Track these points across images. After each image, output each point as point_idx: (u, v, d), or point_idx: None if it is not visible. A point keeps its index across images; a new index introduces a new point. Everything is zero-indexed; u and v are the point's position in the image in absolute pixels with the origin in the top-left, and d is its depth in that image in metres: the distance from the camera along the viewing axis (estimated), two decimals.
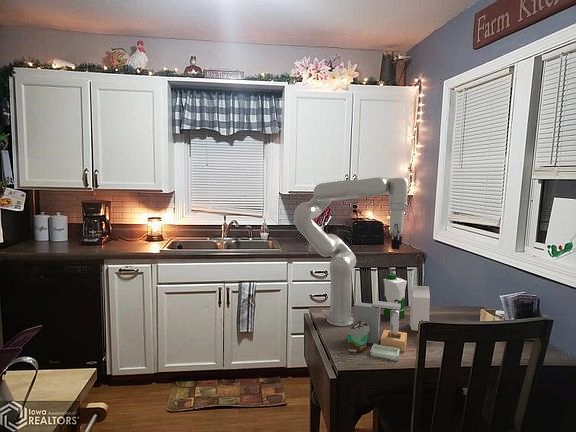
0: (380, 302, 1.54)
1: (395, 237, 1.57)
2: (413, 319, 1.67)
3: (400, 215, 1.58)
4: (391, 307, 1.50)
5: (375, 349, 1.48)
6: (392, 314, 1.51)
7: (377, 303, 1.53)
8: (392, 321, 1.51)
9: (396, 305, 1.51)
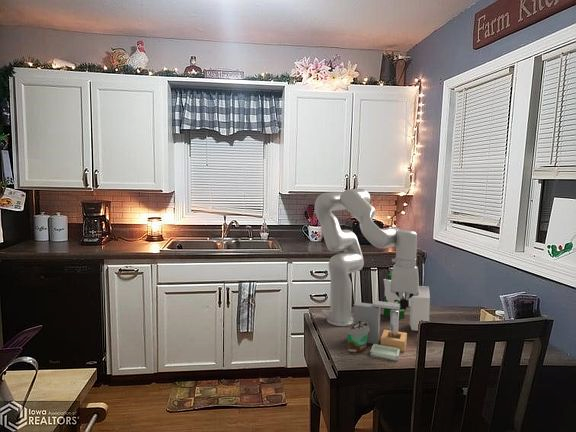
0: (379, 302, 1.54)
1: (411, 296, 1.49)
2: (413, 319, 1.67)
3: None
4: (390, 307, 1.50)
5: (375, 349, 1.48)
6: (392, 314, 1.51)
7: (376, 303, 1.53)
8: (392, 321, 1.51)
9: (395, 305, 1.51)
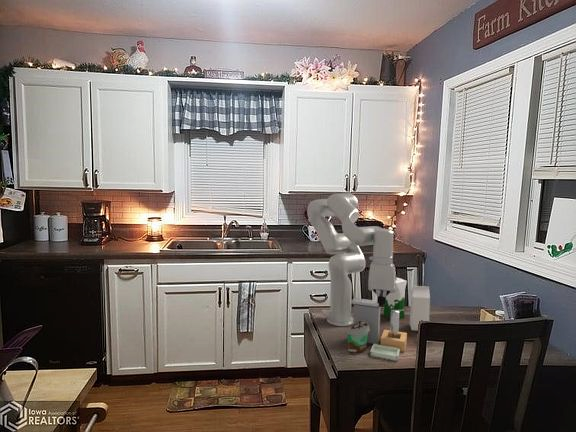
0: (358, 299, 1.57)
1: (388, 293, 1.52)
2: (413, 319, 1.67)
3: None
4: (368, 304, 1.53)
5: (375, 349, 1.48)
6: (392, 314, 1.51)
7: (355, 300, 1.56)
8: (392, 321, 1.51)
9: (373, 302, 1.54)
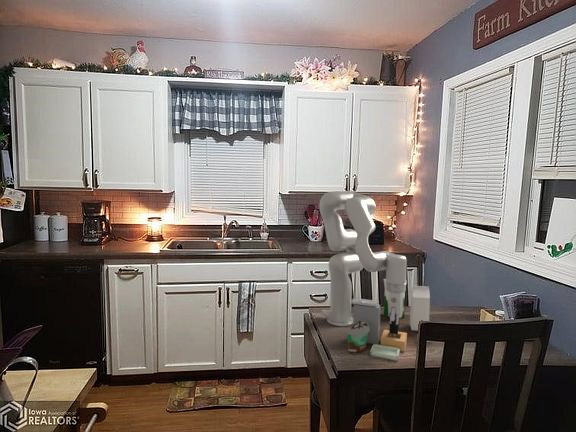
0: (358, 299, 1.58)
1: None
2: (413, 319, 1.67)
3: None
4: (368, 304, 1.53)
5: (375, 349, 1.48)
6: None
7: (355, 300, 1.56)
8: None
9: (373, 302, 1.54)
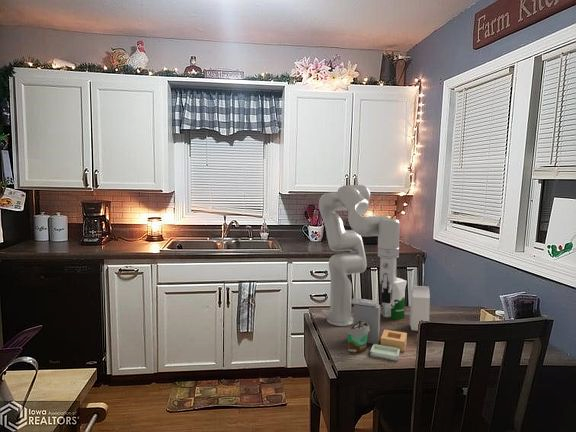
0: (358, 299, 1.58)
1: None
2: (413, 319, 1.67)
3: None
4: (368, 304, 1.53)
5: (375, 349, 1.48)
6: None
7: (355, 300, 1.56)
8: None
9: (373, 302, 1.54)
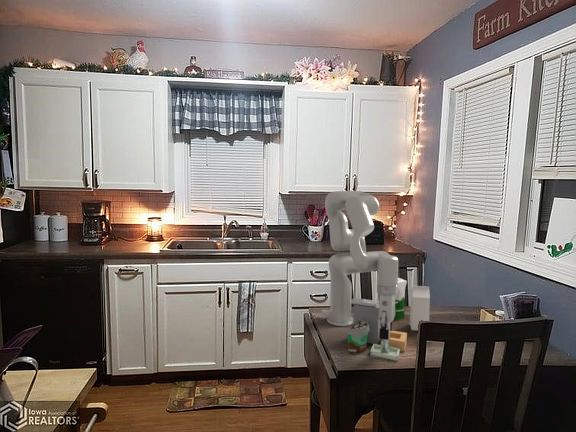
0: (358, 299, 1.58)
1: None
2: (413, 319, 1.67)
3: None
4: (368, 304, 1.53)
5: (375, 349, 1.48)
6: None
7: (355, 300, 1.56)
8: None
9: (373, 302, 1.54)
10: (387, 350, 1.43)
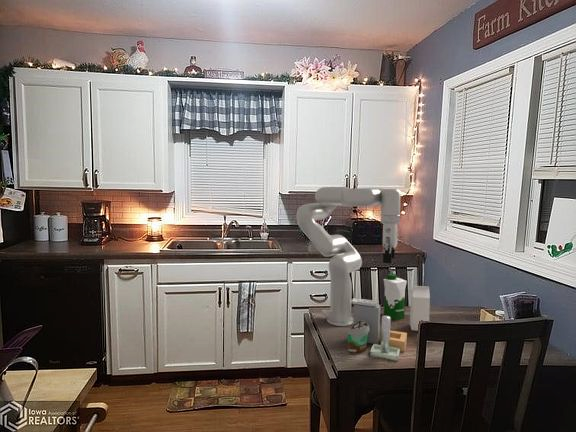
0: (358, 299, 1.58)
1: None
2: (413, 319, 1.67)
3: None
4: (368, 304, 1.53)
5: (375, 349, 1.48)
6: (383, 320, 1.43)
7: (355, 300, 1.56)
8: (383, 328, 1.43)
9: (373, 302, 1.54)
10: (387, 350, 1.43)
